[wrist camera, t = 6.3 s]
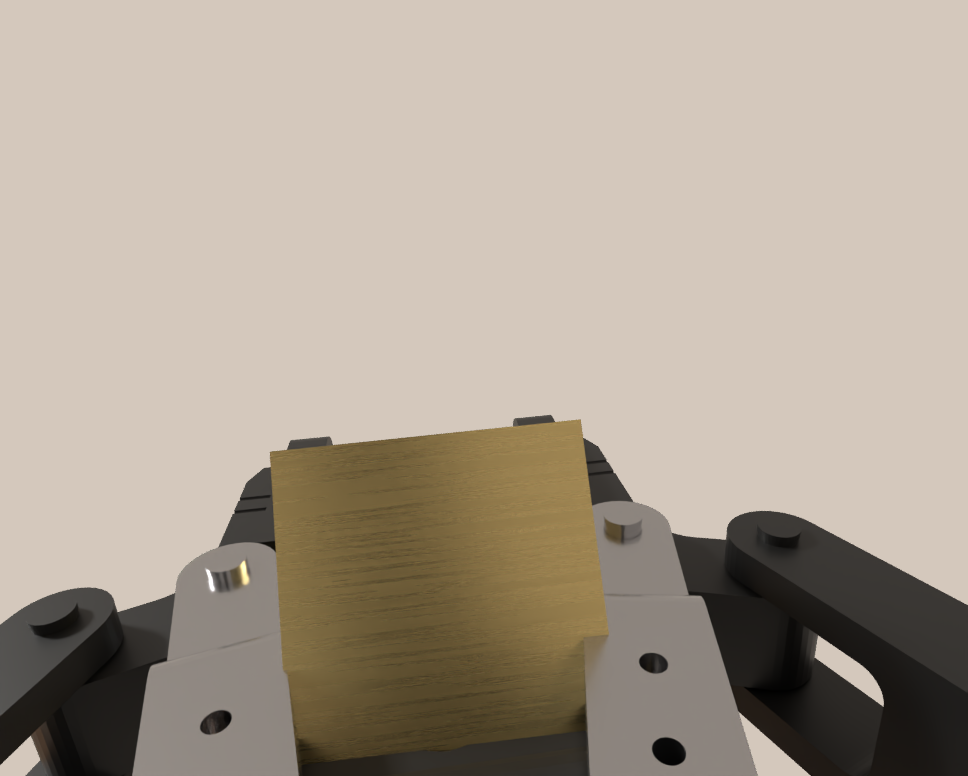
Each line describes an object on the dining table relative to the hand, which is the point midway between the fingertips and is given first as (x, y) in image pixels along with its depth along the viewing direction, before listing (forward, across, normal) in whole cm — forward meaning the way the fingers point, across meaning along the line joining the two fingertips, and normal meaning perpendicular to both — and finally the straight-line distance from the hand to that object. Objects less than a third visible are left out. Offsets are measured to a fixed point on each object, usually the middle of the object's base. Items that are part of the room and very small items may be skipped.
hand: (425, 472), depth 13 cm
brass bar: (+1, 0, +4) cm, 4 cm away
